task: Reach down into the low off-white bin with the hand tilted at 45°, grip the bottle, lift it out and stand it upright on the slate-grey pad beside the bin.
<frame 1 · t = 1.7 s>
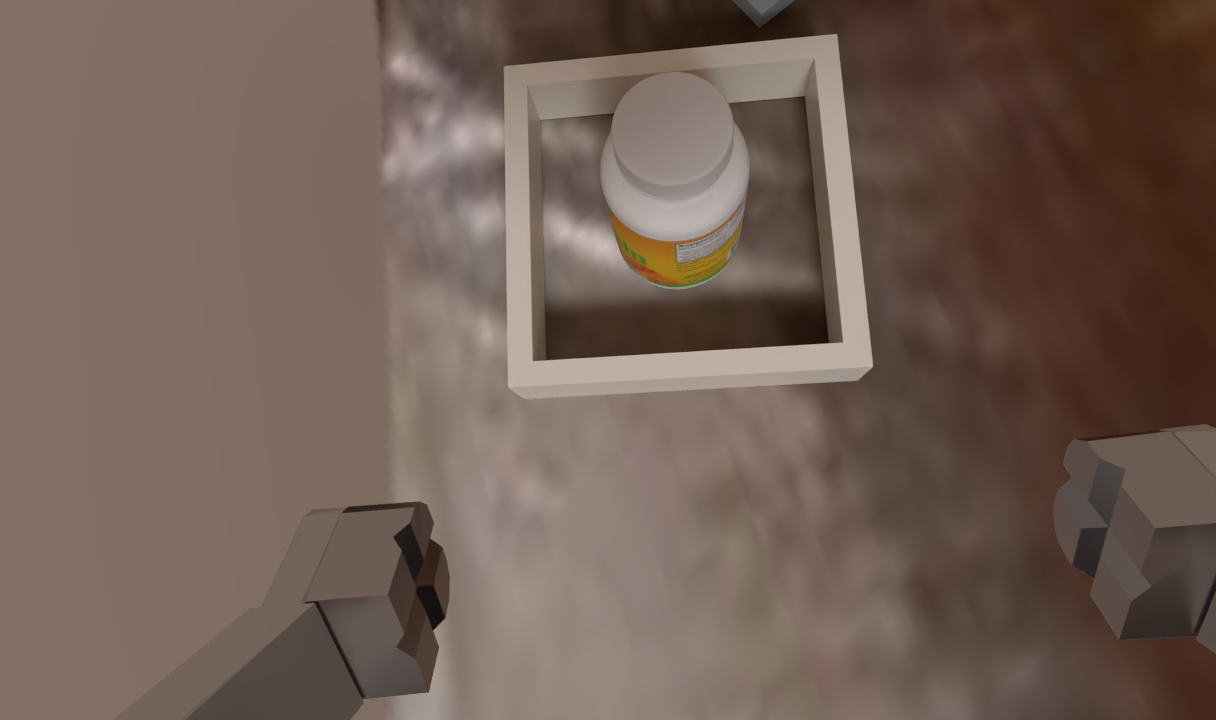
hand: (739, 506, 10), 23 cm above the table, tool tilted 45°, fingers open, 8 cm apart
supplement bottle: (678, 234, 35), resting in bin
bin: (678, 233, 35), on the table
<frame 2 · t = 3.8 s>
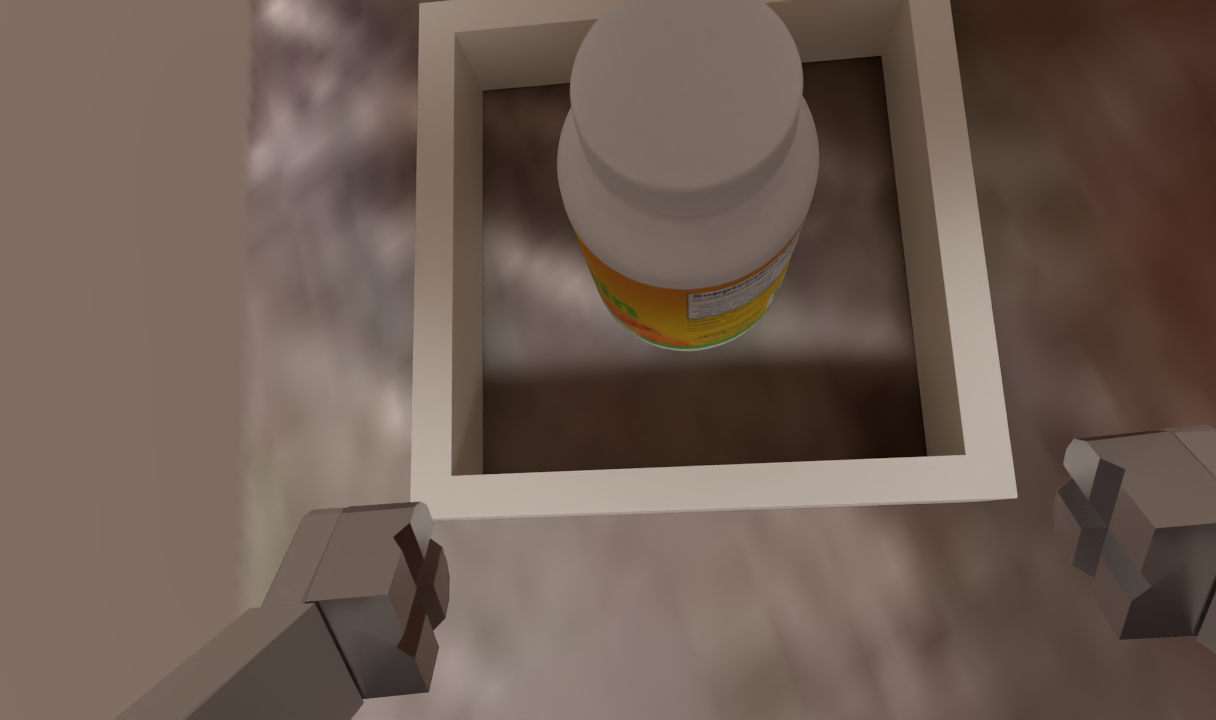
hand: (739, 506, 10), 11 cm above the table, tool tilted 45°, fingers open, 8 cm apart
supplement bottle: (687, 265, 23), resting in bin
bin: (687, 262, 23), on the table
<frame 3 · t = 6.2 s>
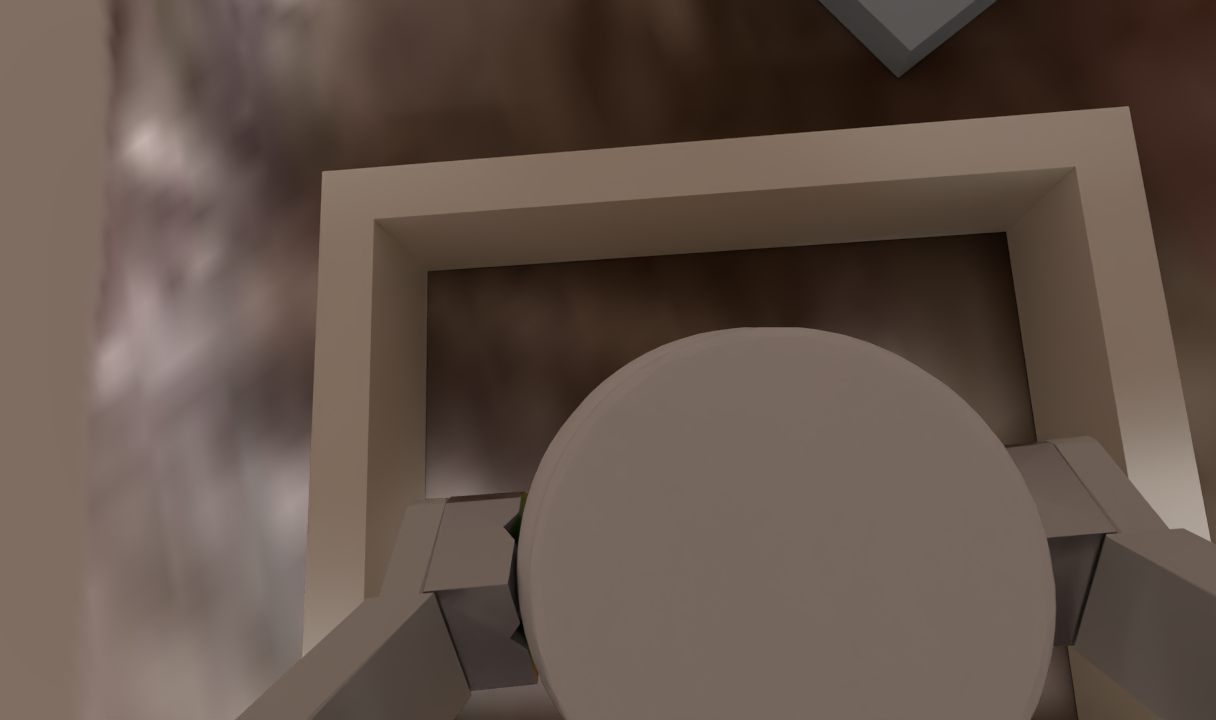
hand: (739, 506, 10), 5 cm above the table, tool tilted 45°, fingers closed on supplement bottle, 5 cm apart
supplement bottle: (726, 546, 16), resting in bin, touching gripper
bin: (726, 546, 15), on the table
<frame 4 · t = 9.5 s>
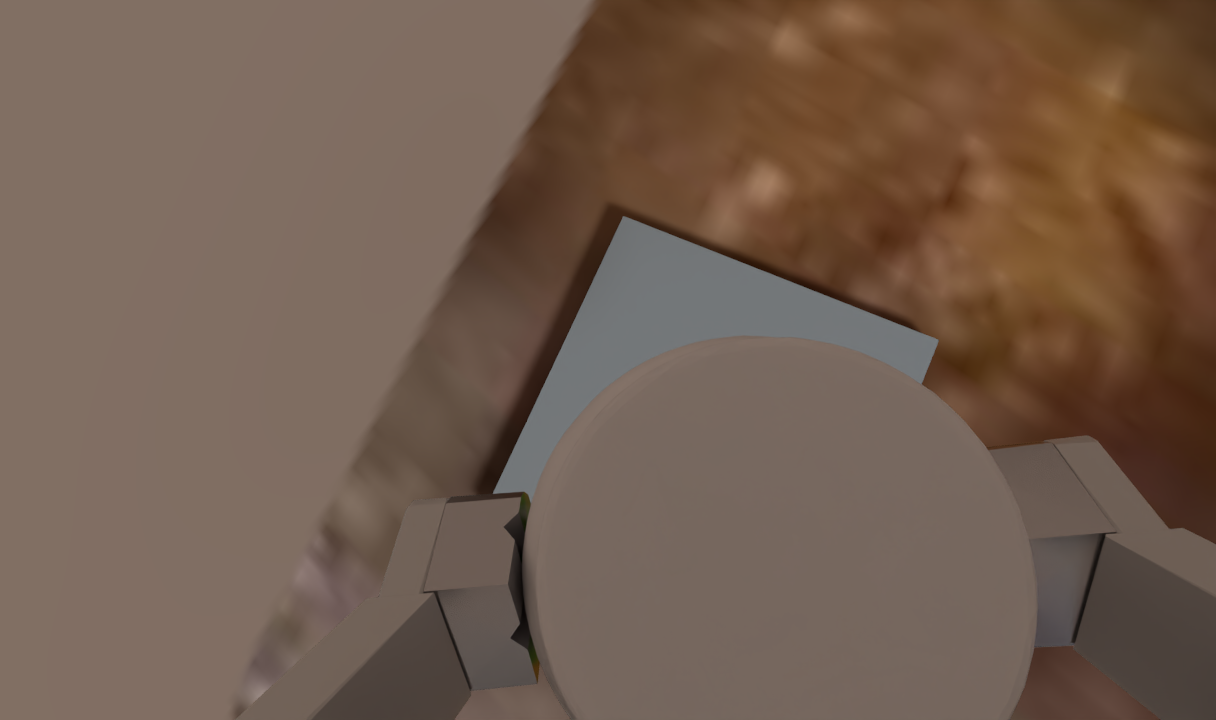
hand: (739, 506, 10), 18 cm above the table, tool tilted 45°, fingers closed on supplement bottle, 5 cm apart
supplement bottle: (725, 549, 16), point 12 cm above the table, touching gripper
pad: (708, 431, 29), on the table
when the fingers open (8 cm above the table, at t = 12.9 s): supplement bottle drops 1 cm, resting on pad.
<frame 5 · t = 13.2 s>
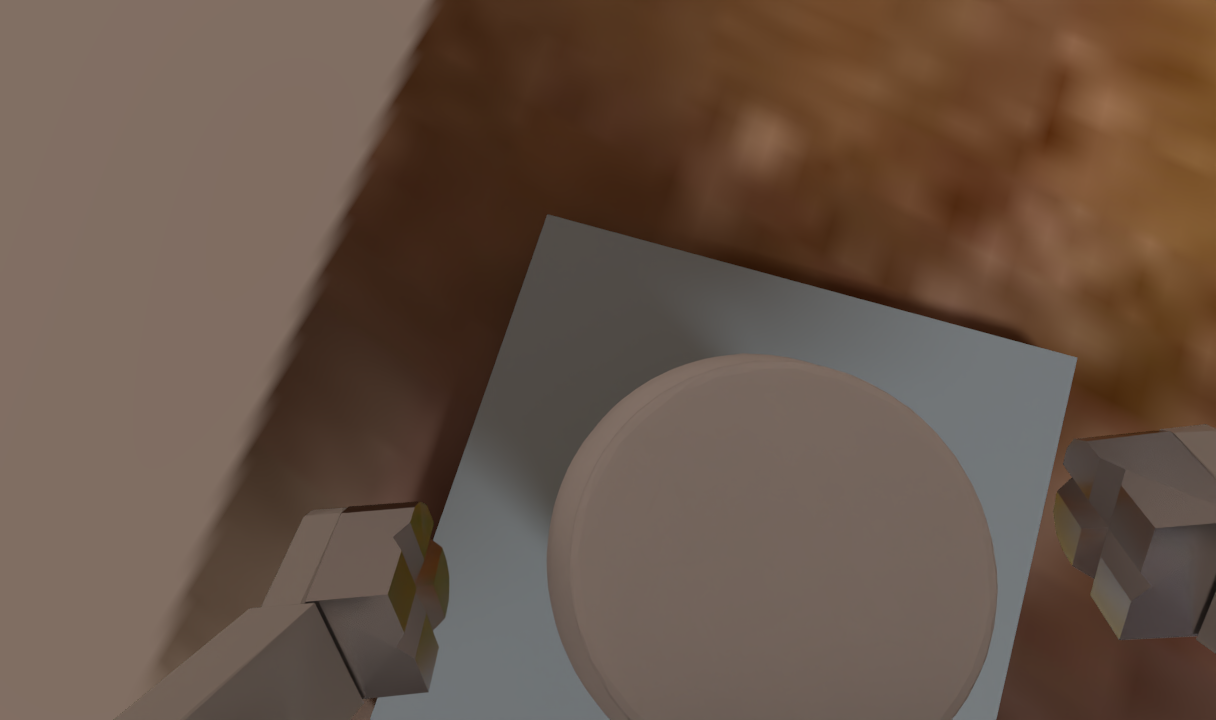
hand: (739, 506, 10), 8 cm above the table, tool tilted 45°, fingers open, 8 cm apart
supplement bottle: (725, 547, 17), point 1 cm above the table, touching pad
pad: (720, 543, 18), on the table
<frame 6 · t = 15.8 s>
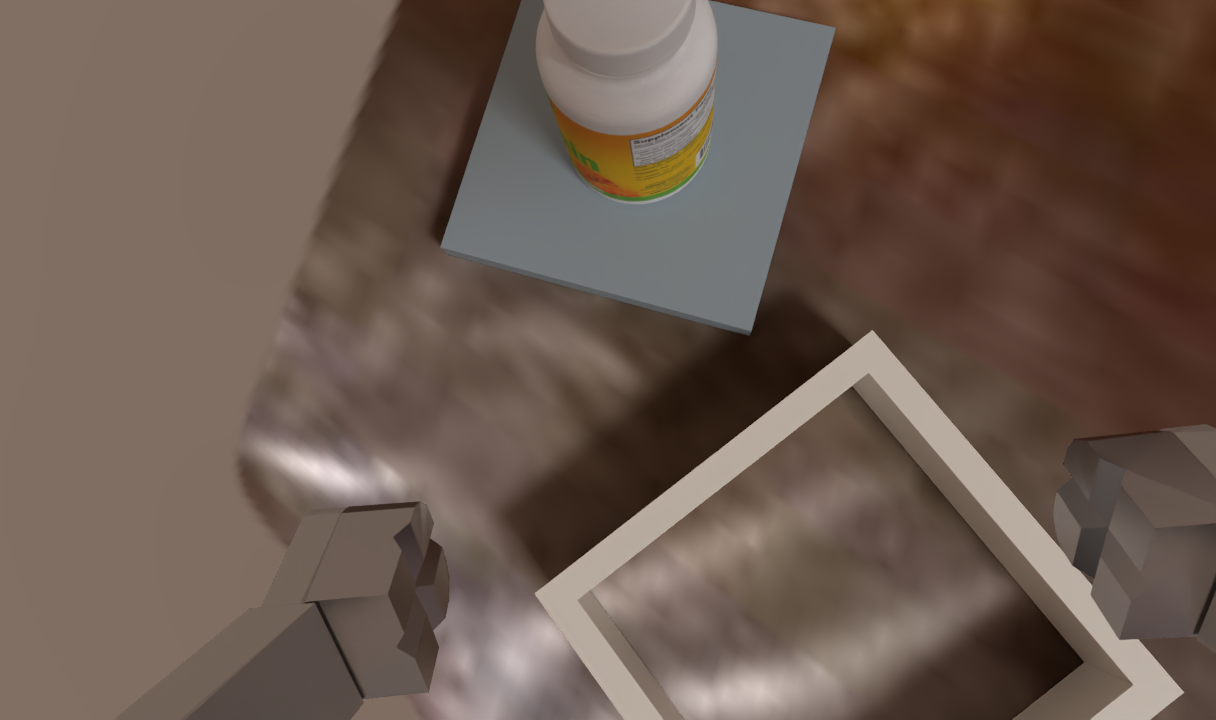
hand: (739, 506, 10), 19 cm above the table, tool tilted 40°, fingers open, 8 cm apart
supplement bottle: (639, 141, 30), point 1 cm above the table, touching pad
bin: (827, 623, 28), on the table
pad: (638, 148, 31), on the table
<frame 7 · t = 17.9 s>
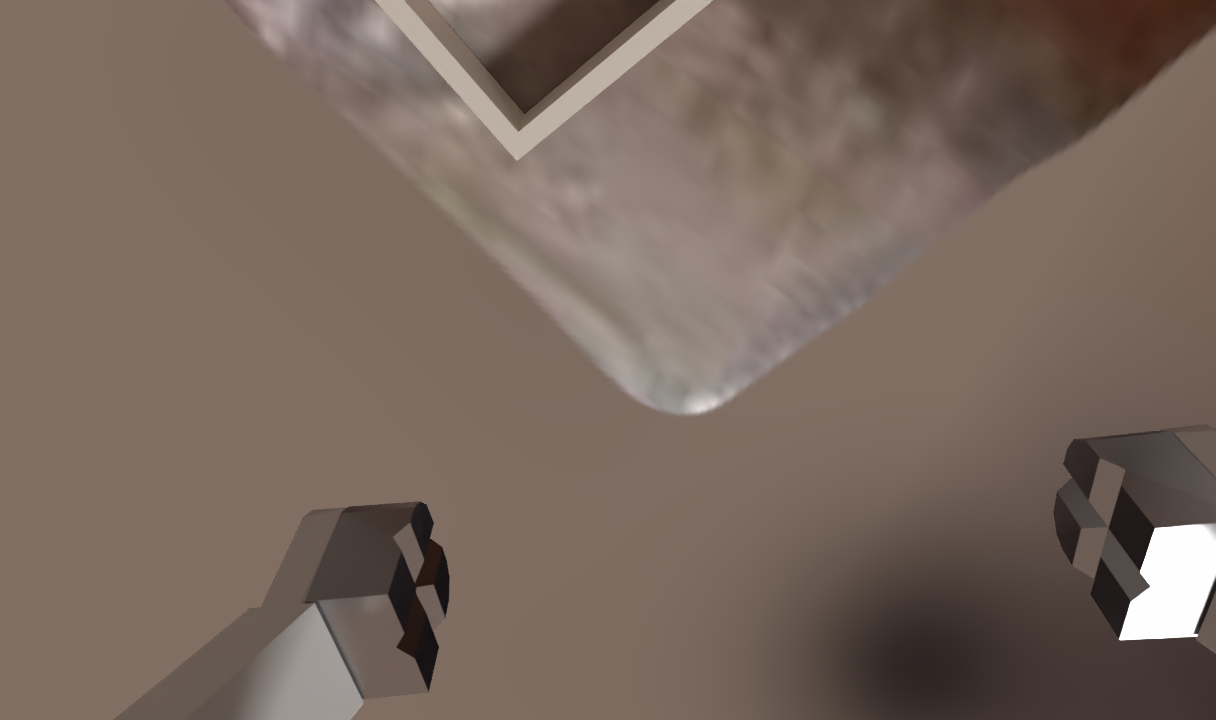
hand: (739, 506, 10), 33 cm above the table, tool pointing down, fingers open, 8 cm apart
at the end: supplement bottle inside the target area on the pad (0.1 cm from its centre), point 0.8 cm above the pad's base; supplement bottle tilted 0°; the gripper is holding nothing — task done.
